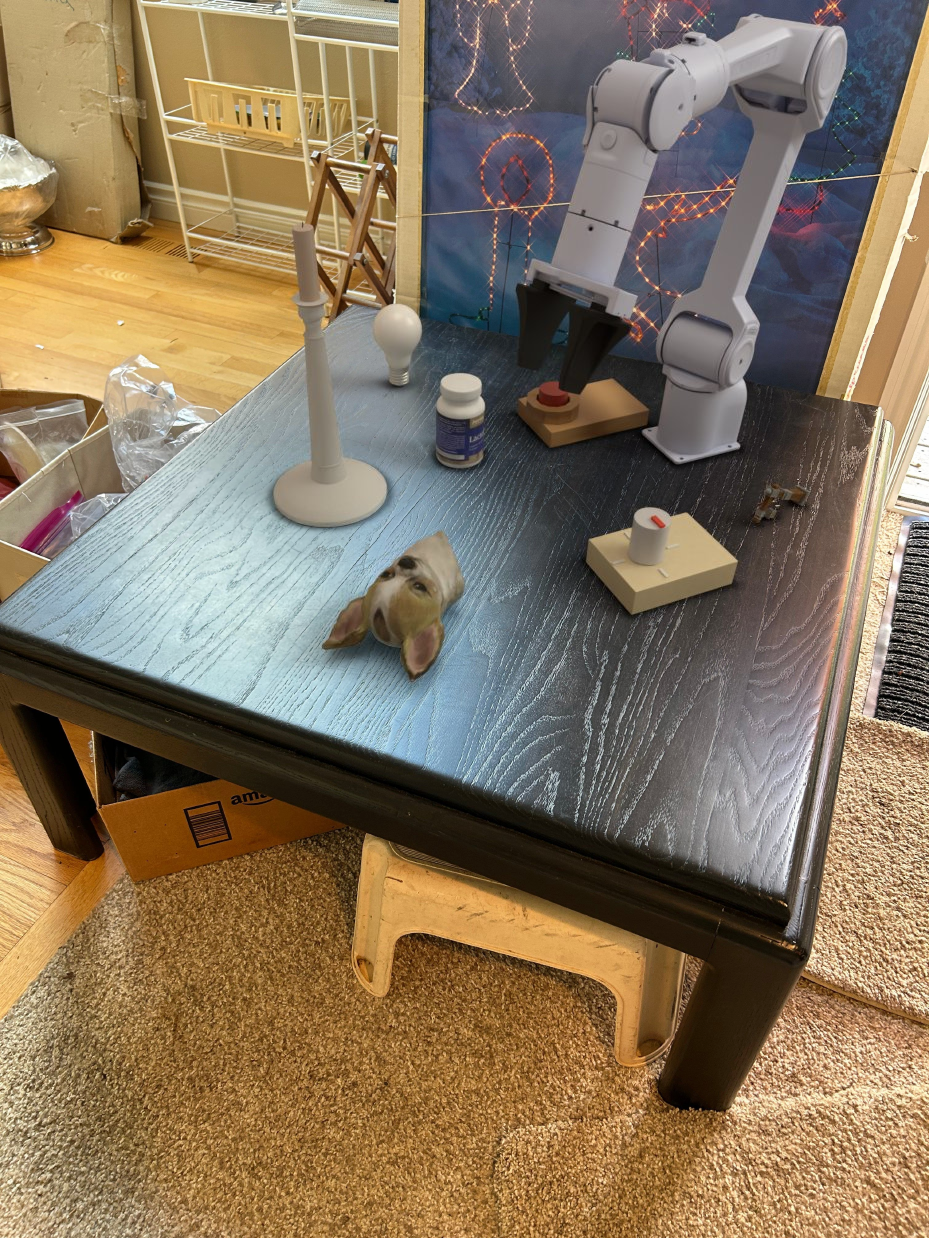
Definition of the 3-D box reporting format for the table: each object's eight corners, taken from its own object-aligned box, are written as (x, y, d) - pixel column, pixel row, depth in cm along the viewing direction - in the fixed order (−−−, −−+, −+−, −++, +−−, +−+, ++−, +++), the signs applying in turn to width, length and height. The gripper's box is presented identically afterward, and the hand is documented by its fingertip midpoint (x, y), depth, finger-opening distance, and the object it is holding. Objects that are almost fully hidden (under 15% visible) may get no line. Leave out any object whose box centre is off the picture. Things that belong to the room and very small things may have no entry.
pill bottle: (478, 473, 106) (480, 396, 100) (431, 467, 107) (430, 391, 100) (487, 447, 110) (490, 372, 104) (441, 442, 111) (441, 367, 104)
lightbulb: (421, 396, 119) (420, 317, 112) (374, 396, 119) (369, 316, 112) (424, 374, 124) (422, 296, 117) (378, 373, 124) (373, 295, 117)
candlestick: (326, 451, 109) (298, 189, 89) (409, 486, 104) (400, 217, 84) (250, 500, 102) (200, 226, 81) (335, 541, 96) (305, 259, 76)
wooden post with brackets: (743, 517, 99) (763, 480, 97) (778, 518, 104) (798, 482, 102) (756, 525, 98) (777, 488, 96) (791, 525, 103) (811, 490, 101)
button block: (610, 393, 121) (614, 365, 118) (647, 425, 115) (651, 397, 112) (511, 415, 116) (513, 386, 114) (544, 449, 110) (547, 420, 108)
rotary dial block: (681, 534, 98) (686, 510, 96) (731, 583, 92) (738, 559, 90) (585, 562, 94) (588, 537, 92) (631, 615, 88) (635, 590, 86)
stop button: (558, 391, 114) (559, 379, 112) (572, 405, 111) (574, 392, 110) (533, 397, 112) (534, 384, 111) (546, 410, 110) (548, 397, 109)
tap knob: (621, 548, 91) (627, 509, 88) (651, 540, 92) (658, 501, 89) (640, 569, 89) (647, 530, 85) (670, 560, 90) (679, 521, 87)
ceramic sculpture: (492, 531, 83) (414, 638, 74) (492, 599, 89) (420, 705, 80) (392, 501, 87) (306, 599, 77) (399, 568, 93) (319, 666, 84)
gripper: (519, 198, 80) (475, 350, 85) (609, 222, 69) (551, 395, 74) (582, 220, 83) (536, 364, 89) (677, 246, 72) (618, 409, 78)
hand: (547, 379), depth 82 cm, fingers open, 7 cm apart
